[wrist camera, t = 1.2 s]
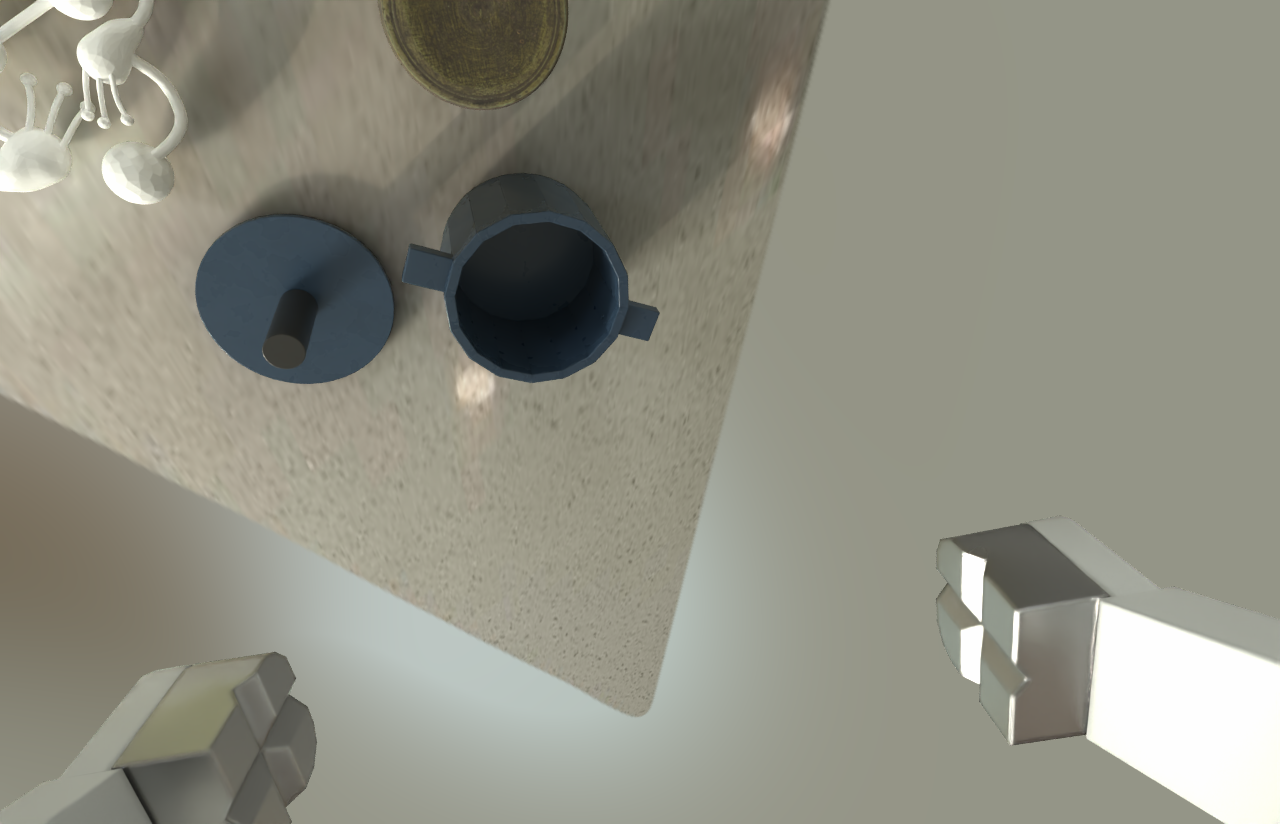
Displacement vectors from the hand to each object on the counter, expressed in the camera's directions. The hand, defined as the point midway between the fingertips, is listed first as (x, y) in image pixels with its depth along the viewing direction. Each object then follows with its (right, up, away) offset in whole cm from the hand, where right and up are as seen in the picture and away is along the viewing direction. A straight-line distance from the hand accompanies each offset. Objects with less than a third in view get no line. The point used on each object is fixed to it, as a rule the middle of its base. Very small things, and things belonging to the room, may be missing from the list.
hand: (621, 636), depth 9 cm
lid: (-25, +11, +45) cm, 53 cm away
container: (-12, +30, +38) cm, 50 cm away
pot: (-9, +15, +48) cm, 51 cm away
